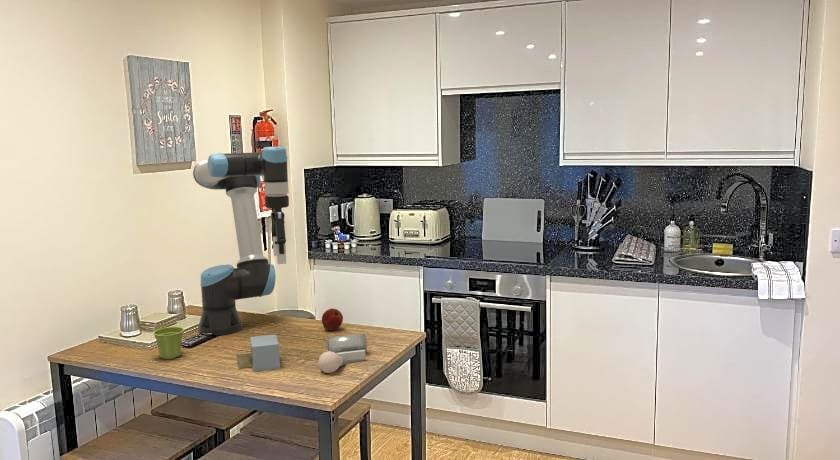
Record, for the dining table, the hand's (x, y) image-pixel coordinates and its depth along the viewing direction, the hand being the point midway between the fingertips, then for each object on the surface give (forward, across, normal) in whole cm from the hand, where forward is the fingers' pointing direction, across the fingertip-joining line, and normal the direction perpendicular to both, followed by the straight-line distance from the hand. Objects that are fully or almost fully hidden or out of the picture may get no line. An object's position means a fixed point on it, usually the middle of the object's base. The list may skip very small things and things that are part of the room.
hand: (279, 259), depth 213 cm
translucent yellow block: (+31, +11, -11) cm, 35 cm away
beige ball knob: (+31, +24, +13) cm, 41 cm away
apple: (+31, -16, +19) cm, 40 cm away
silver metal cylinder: (+30, +11, +19) cm, 37 cm away
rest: (+31, +12, +19) cm, 38 cm away
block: (+31, +12, -7) cm, 34 cm away
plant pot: (+31, -6, -36) cm, 48 cm away
